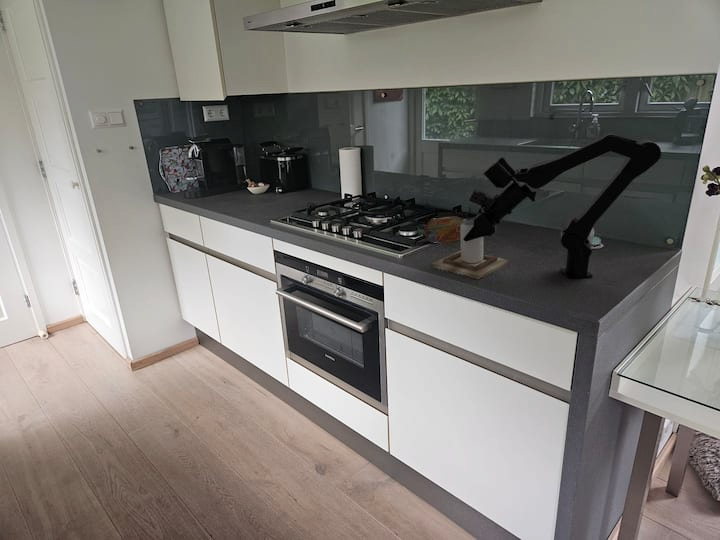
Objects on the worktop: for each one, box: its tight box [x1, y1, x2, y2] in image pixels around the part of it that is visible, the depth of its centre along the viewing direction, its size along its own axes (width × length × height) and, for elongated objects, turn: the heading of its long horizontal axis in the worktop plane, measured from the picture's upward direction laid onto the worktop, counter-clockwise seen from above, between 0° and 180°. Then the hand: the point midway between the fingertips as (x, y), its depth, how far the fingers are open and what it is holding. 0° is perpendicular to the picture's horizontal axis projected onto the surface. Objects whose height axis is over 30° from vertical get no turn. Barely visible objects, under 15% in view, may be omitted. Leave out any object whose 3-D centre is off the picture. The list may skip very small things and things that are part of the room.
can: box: [460, 217, 484, 263], centre depth 142 cm, size 6×6×12 cm
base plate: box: [431, 250, 509, 280], centre depth 144 cm, size 16×16×2 cm
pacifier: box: [587, 227, 605, 250], centre depth 155 cm, size 7×6×6 cm
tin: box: [424, 215, 465, 244], centre depth 166 cm, size 15×3×8 cm, turn 105°
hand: (466, 236), depth 142 cm, fingers open, 7 cm apart
